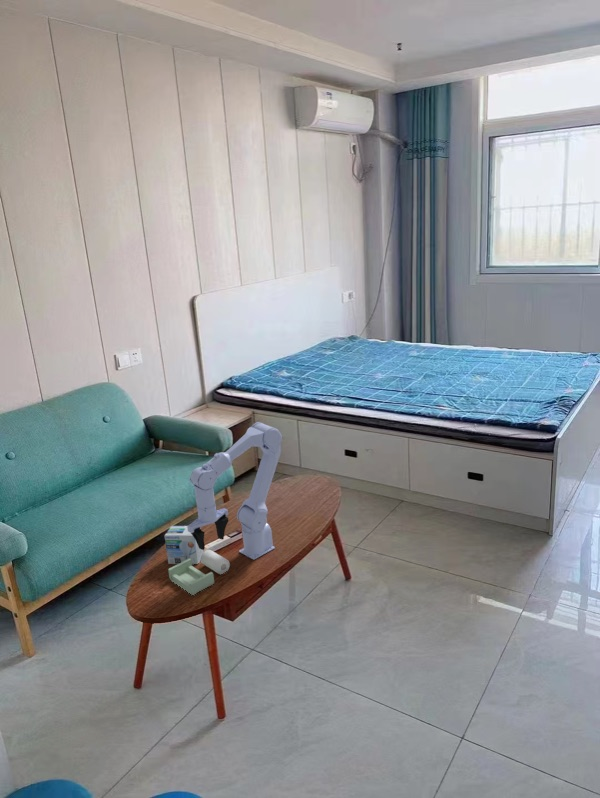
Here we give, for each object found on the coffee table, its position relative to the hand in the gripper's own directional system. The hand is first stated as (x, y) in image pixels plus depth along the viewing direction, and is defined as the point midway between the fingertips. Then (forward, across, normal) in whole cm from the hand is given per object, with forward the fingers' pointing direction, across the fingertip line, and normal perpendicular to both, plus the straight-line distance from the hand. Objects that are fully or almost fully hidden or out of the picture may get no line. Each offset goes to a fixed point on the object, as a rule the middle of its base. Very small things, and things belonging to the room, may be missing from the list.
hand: (211, 543), depth 187 cm
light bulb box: (+10, +2, -13) cm, 16 cm away
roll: (+7, 0, 0) cm, 7 cm away
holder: (+9, +9, 0) cm, 13 cm away
